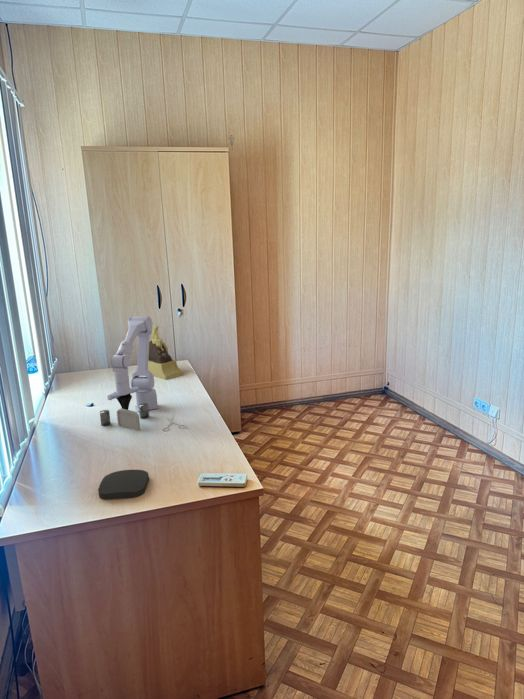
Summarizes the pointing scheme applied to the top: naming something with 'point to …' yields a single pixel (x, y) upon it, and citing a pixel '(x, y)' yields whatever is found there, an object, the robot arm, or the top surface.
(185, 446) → the top surface
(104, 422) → the post
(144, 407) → the post
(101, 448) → the top surface
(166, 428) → the scissors
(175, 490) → the top surface
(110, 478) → the media streaming box
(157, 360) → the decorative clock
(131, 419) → the light switch
